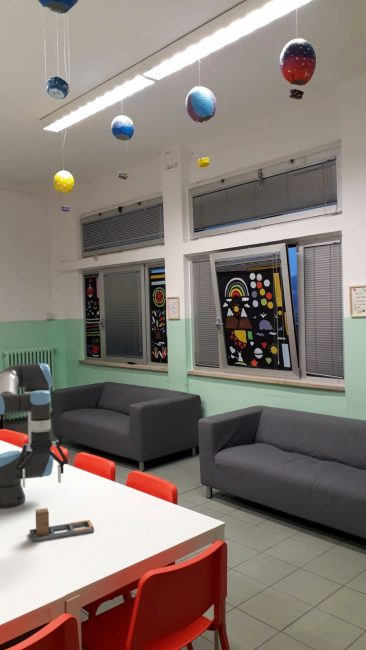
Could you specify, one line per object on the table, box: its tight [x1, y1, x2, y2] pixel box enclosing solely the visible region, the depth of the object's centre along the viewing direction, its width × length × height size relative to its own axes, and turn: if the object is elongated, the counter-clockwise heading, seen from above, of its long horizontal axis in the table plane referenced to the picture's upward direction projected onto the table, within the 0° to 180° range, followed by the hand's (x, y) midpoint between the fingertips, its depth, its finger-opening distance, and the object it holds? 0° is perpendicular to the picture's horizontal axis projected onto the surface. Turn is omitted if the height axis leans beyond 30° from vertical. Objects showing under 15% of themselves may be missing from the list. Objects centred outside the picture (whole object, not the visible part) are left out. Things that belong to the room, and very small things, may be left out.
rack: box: [29, 519, 95, 543], centre depth 202 cm, size 9×24×2 cm, turn 112°
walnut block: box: [35, 507, 50, 537], centre depth 199 cm, size 4×4×10 cm
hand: (41, 484), depth 199 cm, fingers open, 13 cm apart
